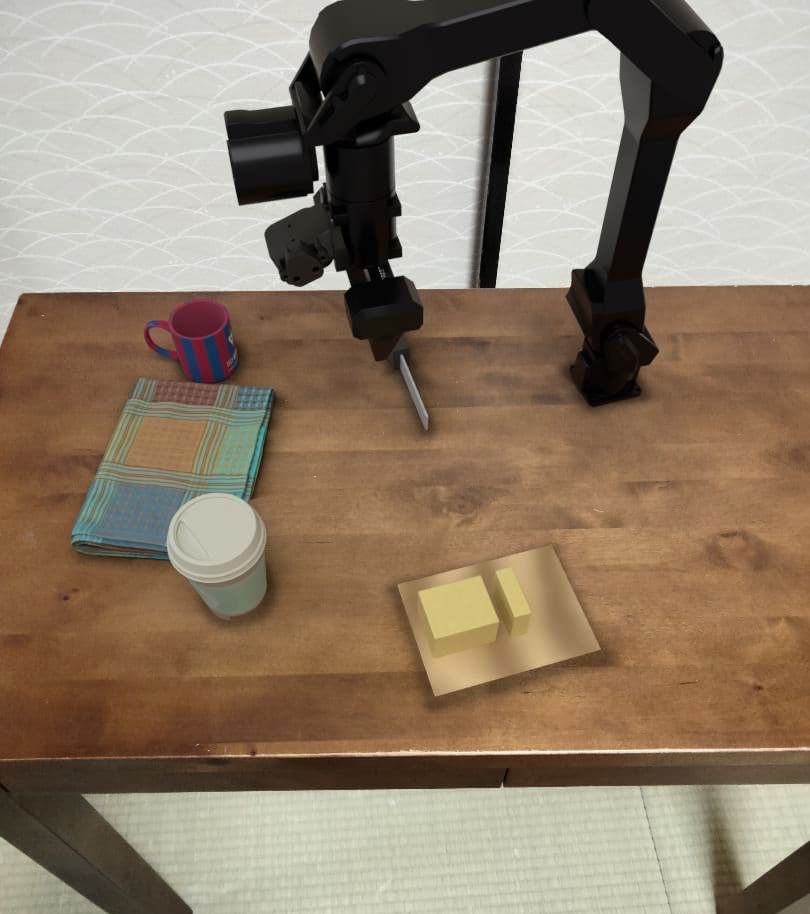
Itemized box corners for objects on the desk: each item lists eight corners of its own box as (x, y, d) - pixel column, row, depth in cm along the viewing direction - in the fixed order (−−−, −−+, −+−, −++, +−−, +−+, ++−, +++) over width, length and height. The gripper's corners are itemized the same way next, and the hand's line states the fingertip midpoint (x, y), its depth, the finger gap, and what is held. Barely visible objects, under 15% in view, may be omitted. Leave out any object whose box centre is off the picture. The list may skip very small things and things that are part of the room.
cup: (231, 386, 95) (220, 342, 89) (148, 379, 95) (131, 334, 90) (244, 346, 98) (234, 301, 93) (164, 339, 99) (149, 294, 93)
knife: (393, 327, 100) (392, 308, 98) (435, 428, 91) (436, 409, 89) (377, 330, 100) (376, 311, 97) (418, 432, 91) (418, 413, 88)
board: (549, 552, 82) (551, 544, 81) (598, 656, 76) (601, 649, 74) (397, 592, 80) (396, 584, 78) (434, 703, 73) (434, 696, 72)
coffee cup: (195, 560, 81) (165, 490, 71) (281, 554, 82) (263, 483, 72) (190, 638, 77) (157, 575, 67) (281, 631, 77) (262, 567, 67)
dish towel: (69, 555, 82) (60, 542, 80) (135, 386, 95) (129, 370, 93) (237, 570, 81) (232, 556, 79) (280, 397, 94) (277, 381, 92)
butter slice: (507, 588, 78) (511, 566, 75) (526, 633, 75) (531, 612, 72) (491, 592, 78) (495, 570, 74) (510, 637, 75) (514, 617, 72)
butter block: (477, 596, 78) (480, 574, 74) (495, 641, 75) (499, 621, 72) (417, 612, 77) (417, 591, 73) (433, 659, 74) (434, 639, 71)
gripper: (247, 135, 71) (273, 281, 84) (282, 270, 61) (306, 412, 74) (372, 117, 73) (378, 263, 86) (426, 246, 63) (424, 389, 76)
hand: (369, 327), depth 80 cm, fingers open, 9 cm apart
